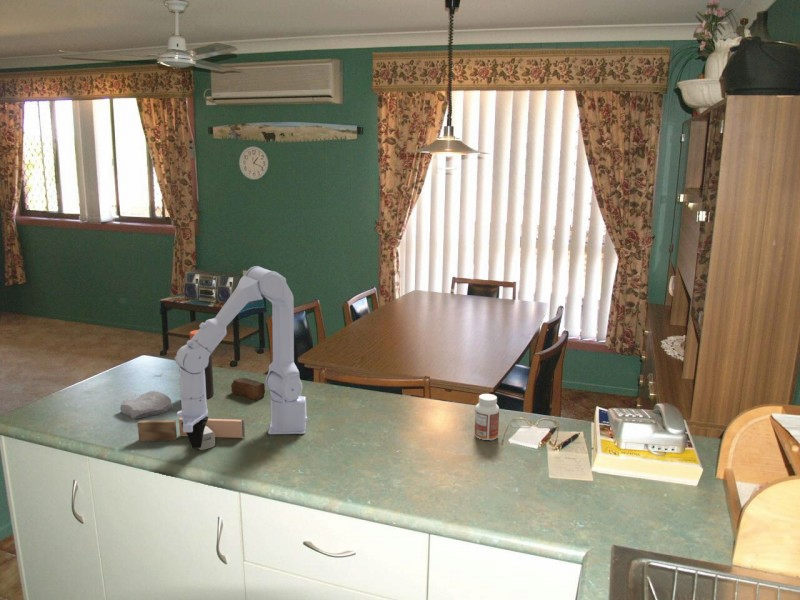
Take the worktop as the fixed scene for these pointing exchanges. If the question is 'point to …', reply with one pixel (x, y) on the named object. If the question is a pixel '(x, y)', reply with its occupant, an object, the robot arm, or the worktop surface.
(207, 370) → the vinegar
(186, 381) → the robot arm
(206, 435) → the usb wall charger
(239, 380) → the brick
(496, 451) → the worktop surface
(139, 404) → the stone block
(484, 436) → the pill bottle
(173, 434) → the brown wooden board
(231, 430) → the light wood thin slab
